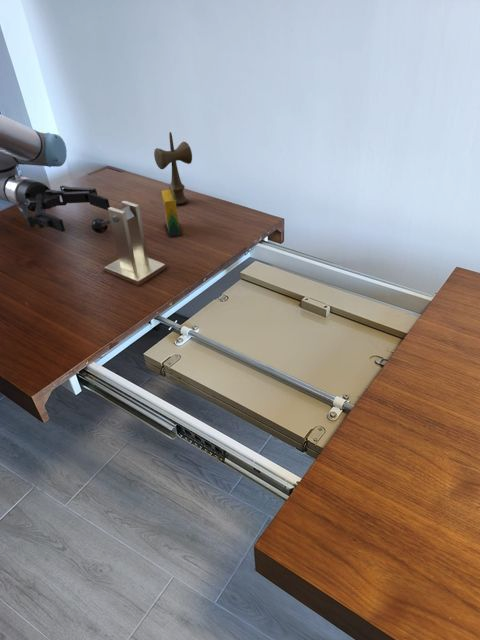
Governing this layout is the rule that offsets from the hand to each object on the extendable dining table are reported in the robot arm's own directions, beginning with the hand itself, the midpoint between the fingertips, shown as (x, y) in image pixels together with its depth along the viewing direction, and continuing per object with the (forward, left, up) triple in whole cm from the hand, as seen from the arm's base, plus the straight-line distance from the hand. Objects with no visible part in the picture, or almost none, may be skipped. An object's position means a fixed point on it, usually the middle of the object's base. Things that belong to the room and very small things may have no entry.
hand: (86, 214), depth 111 cm
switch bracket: (+5, -13, -10) cm, 17 cm away
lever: (+3, -9, -1) cm, 10 cm away
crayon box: (+22, 0, -11) cm, 24 cm away
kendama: (+32, +15, -11) cm, 37 cm away
